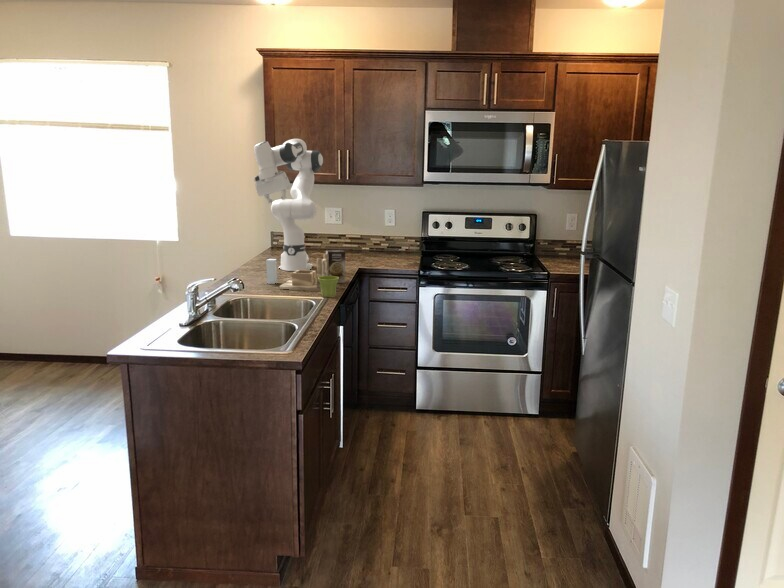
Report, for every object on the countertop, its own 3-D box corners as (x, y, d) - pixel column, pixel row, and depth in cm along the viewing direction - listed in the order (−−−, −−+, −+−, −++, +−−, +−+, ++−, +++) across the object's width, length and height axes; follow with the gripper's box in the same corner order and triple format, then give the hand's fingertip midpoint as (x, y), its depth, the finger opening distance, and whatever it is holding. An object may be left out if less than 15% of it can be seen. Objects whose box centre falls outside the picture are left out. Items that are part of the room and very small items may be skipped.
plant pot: (325, 299, 276) (325, 280, 274) (314, 295, 283) (314, 277, 281) (342, 296, 282) (342, 278, 280) (331, 293, 289) (331, 274, 287)
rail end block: (269, 282, 310) (268, 258, 307) (277, 282, 309) (276, 259, 307) (266, 283, 306) (266, 260, 303) (274, 284, 305) (274, 260, 303)
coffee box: (327, 283, 310) (327, 251, 306) (325, 281, 316) (325, 249, 312) (345, 282, 312) (345, 251, 309) (342, 280, 318) (343, 249, 315)
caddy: (289, 282, 310) (288, 252, 306) (328, 284, 307) (328, 253, 304) (279, 289, 294) (278, 257, 291) (321, 291, 292) (321, 259, 288)
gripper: (288, 169, 305) (296, 196, 308) (259, 177, 316) (267, 204, 319) (280, 170, 300) (288, 198, 302) (251, 179, 311) (259, 206, 314)
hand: (277, 201), depth 311 cm, fingers open, 8 cm apart
